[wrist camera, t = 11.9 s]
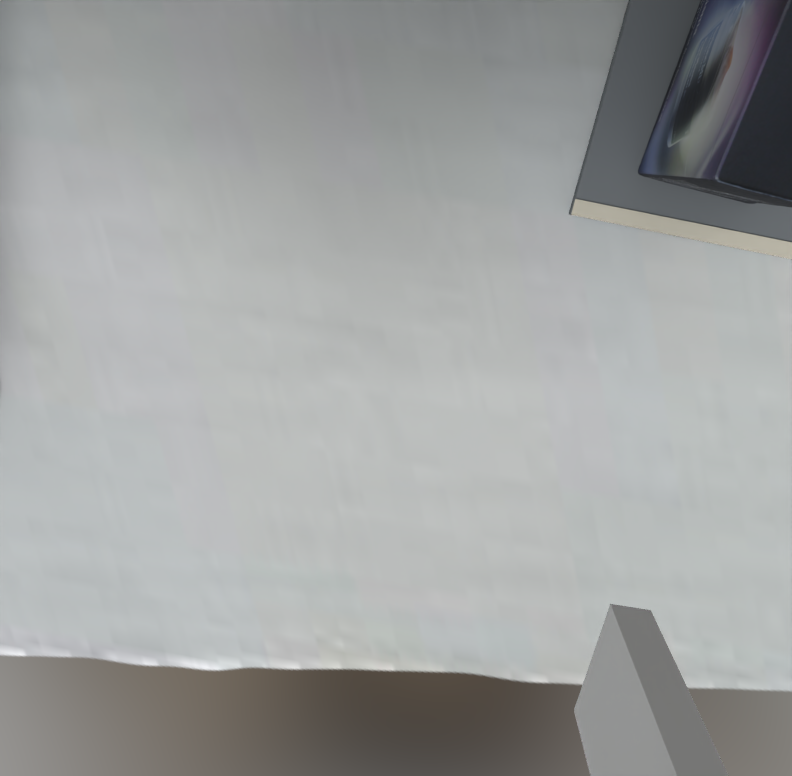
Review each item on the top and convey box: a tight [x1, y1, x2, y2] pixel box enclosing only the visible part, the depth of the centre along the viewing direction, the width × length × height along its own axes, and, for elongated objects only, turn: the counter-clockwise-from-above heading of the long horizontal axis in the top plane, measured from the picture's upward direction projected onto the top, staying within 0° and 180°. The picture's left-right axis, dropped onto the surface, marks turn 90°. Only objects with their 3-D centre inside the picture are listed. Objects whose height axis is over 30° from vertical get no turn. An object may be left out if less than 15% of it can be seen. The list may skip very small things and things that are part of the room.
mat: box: [569, 0, 792, 259], centre depth 29 cm, size 12×15×1 cm
